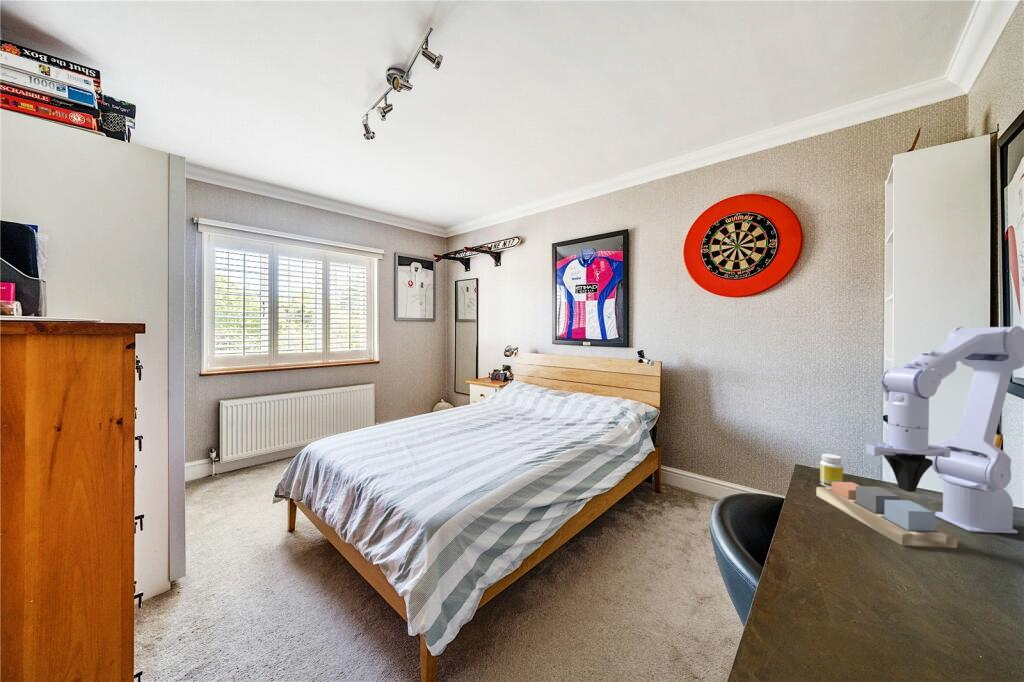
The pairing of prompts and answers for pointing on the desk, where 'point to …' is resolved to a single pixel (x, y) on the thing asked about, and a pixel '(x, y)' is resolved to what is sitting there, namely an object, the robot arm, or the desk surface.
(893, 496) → the grey block
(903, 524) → the light blue block
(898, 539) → the board
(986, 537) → the desk surface
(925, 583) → the desk surface
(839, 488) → the button terracotta
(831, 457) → the supplement bottle
